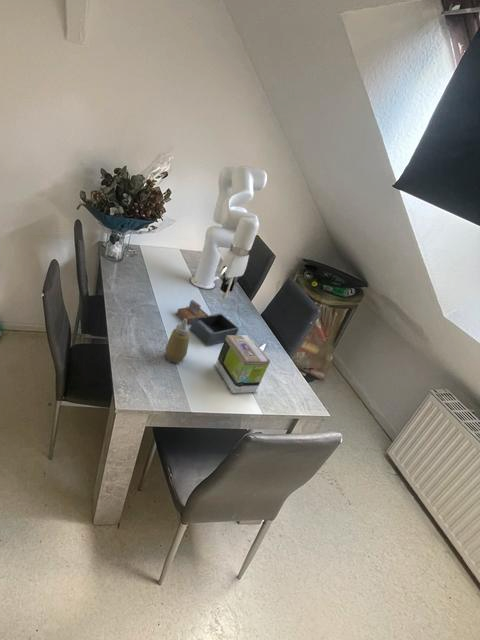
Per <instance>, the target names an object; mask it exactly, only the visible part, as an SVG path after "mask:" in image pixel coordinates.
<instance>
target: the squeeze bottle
mask: <svg viewBox="0 0 480 640" xmlns="http://www.w3.org/2000/svg"><path fill="white" fill-rule="evenodd" d="M189 332H190V328H189V326H188V324H187V319H184V320H182V322H181V323H179V324H177V325H176V327H175V328H174V329H173V330H172V332H171V334H170V337H169V338H168V341H167V343H166V346H165V354H166V359H167V360H168V361H169V362H171V363H175V364H179V363H181V362H182V361H183V359H184V358H185V357H186V356H187V353H188V348H189V342H190V337H191V334H190V333H189Z"/></svg>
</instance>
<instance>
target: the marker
mask: <svg viewBox="0 0 480 640" xmlns="http://www.w3.org/2000/svg"><path fill="white" fill-rule="evenodd" d="M233 278H234V277H231V278H230V280H229V283H228V284H229V286H228V289H227V292H226V293H224V292H223V291H222V290H221V291H222V292H221V295H220V296H221V298H222V299H223V298H224V299H226V298H228V295H229V292H230V291H229V289H230V287H231V284H232V281H233Z"/></svg>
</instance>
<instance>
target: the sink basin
mask: <svg viewBox="0 0 480 640" xmlns="http://www.w3.org/2000/svg"><path fill="white" fill-rule="evenodd" d="M189 331H190V332H192V333H193V334H194V335H195V336H196V337H197V338H198V339H199V340H200V341H201V342H202V343H203V344H204V345H205V346H206V347H207V346H212V345H216V344H219V343H224V341H225V338H226V336H227V335H238V331H239V327H238V326H237V325H236V324H235V323H233V322H232V321H231V320H229V319H228V318H227V317H226V316H225V315H224V314H222V313H221V312H219V313H215V314H211V315H209V314H208V316H204V317H199V318H194V319H193V321H192V323H191V325H190V328H189Z"/></svg>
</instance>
